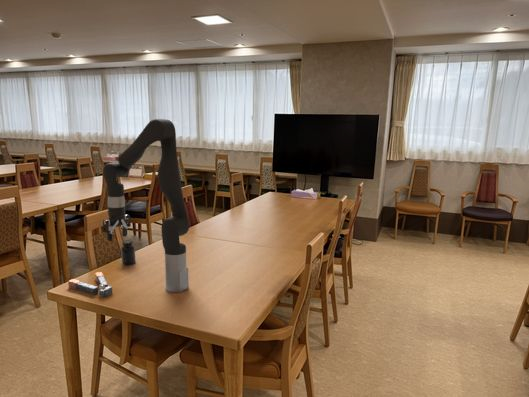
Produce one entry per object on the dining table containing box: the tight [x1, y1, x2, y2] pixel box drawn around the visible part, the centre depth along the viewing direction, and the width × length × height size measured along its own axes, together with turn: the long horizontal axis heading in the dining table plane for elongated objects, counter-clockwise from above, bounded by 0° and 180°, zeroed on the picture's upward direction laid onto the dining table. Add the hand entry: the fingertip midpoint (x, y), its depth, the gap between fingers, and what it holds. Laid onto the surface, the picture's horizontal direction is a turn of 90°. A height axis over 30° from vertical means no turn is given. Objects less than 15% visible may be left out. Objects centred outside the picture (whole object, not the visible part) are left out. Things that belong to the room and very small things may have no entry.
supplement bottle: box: [120, 239, 136, 266], centre depth 196 cm, size 7×7×12 cm
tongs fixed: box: [67, 278, 113, 298], centre depth 163 cm, size 21×5×4 cm, turn 63°
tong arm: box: [94, 271, 109, 288], centre depth 170 cm, size 16×3×3 cm, turn 33°
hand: (117, 238), depth 176 cm, fingers open, 8 cm apart
